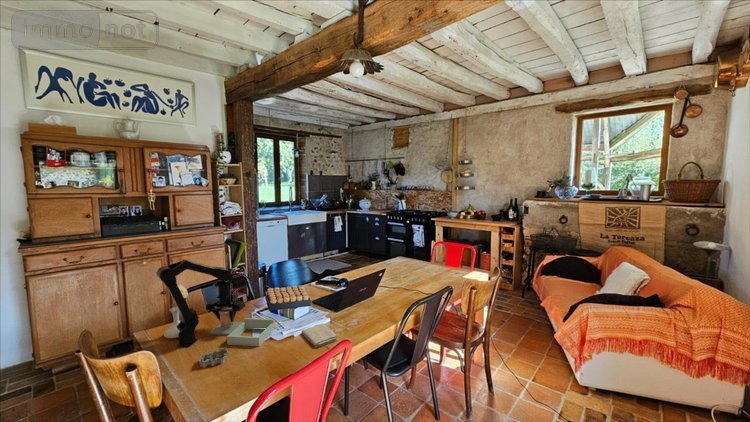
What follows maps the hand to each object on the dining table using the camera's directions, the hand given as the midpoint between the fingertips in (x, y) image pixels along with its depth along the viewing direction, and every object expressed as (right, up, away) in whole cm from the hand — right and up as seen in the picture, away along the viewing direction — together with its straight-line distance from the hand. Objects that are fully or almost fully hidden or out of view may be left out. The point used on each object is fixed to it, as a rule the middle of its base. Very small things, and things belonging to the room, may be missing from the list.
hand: (226, 321), depth 163 cm
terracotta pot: (0, -2, 0) cm, 2 cm away
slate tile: (0, -4, +1) cm, 4 cm away
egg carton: (+8, -8, -28) cm, 30 cm away
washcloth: (+49, -5, -9) cm, 51 cm away
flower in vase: (-23, -5, -3) cm, 23 cm away
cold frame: (+16, -5, -8) cm, 18 cm away
